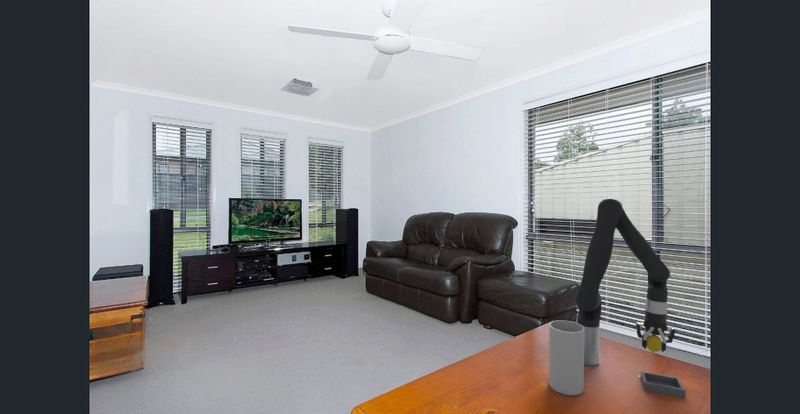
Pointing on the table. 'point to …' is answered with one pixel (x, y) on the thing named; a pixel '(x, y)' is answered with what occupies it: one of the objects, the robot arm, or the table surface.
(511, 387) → the table surface
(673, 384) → the gray open tray
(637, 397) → the table surface
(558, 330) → the cylinder vase
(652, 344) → the lemon
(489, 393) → the table surface
